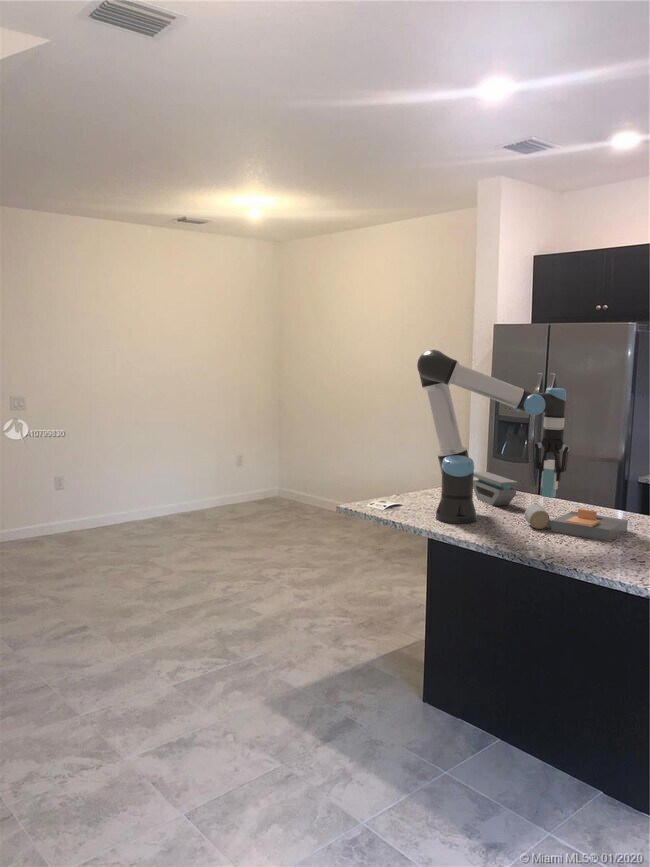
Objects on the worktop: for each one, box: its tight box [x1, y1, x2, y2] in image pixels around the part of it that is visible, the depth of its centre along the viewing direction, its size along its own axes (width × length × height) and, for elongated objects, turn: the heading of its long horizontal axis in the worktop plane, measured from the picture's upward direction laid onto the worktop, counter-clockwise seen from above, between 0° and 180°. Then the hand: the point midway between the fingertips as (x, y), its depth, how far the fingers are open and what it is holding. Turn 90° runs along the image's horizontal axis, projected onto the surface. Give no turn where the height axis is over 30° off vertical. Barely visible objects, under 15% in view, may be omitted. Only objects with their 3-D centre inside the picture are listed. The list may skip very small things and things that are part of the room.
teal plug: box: [541, 459, 557, 499], centre depth 269 cm, size 4×4×14 cm
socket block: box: [550, 510, 629, 542], centre depth 248 cm, size 20×20×4 cm
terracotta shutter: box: [566, 508, 601, 527], centre depth 243 cm, size 9×9×4 cm
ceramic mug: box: [524, 504, 552, 530], centre depth 252 cm, size 11×8×8 cm
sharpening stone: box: [473, 471, 519, 506], centre depth 295 cm, size 25×8×11 cm, turn 16°
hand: (549, 488), depth 270 cm, fingers closed on teal plug, 4 cm apart
